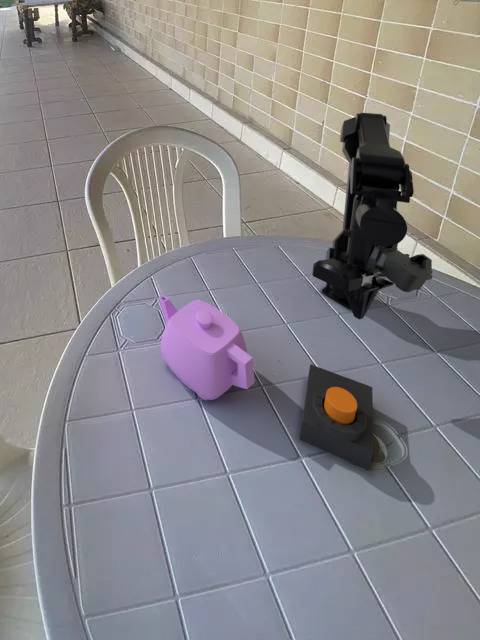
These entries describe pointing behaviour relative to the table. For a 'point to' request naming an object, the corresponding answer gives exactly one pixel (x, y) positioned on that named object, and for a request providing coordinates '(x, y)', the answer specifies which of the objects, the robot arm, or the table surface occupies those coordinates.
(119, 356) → the table surface
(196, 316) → the teapot
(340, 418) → the round orange button
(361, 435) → the button base
